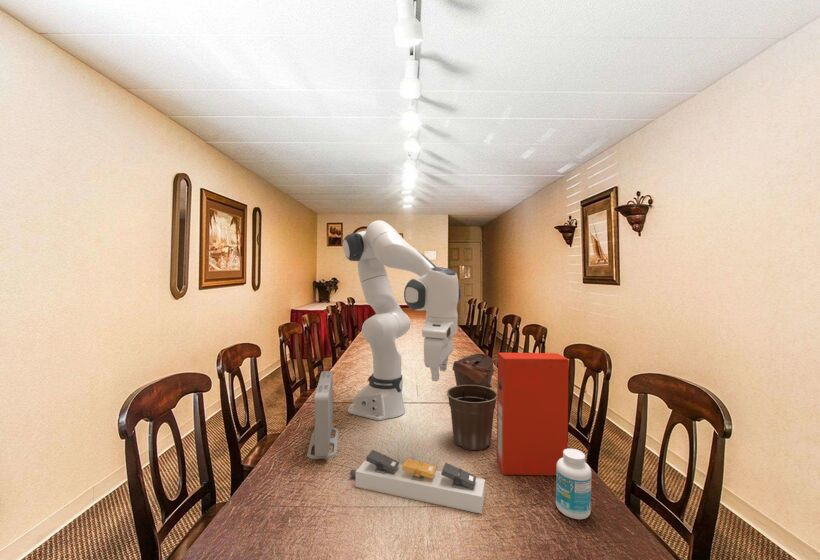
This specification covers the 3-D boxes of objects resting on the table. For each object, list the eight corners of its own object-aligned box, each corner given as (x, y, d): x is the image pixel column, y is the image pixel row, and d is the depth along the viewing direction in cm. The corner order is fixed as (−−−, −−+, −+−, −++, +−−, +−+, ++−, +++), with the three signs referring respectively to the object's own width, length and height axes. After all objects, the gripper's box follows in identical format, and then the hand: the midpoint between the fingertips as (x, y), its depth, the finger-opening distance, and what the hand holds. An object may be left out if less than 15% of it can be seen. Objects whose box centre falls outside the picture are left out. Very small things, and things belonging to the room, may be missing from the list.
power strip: (345, 484, 91) (345, 467, 91) (357, 469, 98) (357, 454, 98) (481, 513, 81) (481, 495, 81) (484, 495, 87) (485, 477, 87)
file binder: (496, 459, 104) (497, 352, 103) (555, 460, 104) (557, 352, 103) (503, 475, 96) (504, 359, 95) (567, 476, 96) (569, 359, 95)
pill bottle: (549, 500, 86) (550, 445, 85) (578, 498, 86) (580, 444, 86) (566, 522, 78) (567, 462, 78) (597, 520, 79) (599, 461, 78)
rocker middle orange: (401, 472, 88) (402, 465, 88) (406, 465, 92) (406, 457, 92) (432, 481, 86) (433, 473, 86) (435, 473, 89) (436, 465, 89)
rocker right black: (440, 477, 85) (442, 469, 85) (443, 469, 89) (445, 462, 88) (472, 492, 83) (474, 484, 83) (474, 483, 86) (476, 475, 86)
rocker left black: (365, 463, 91) (366, 456, 91) (370, 456, 95) (372, 449, 95) (392, 476, 89) (394, 469, 89) (397, 468, 93) (399, 461, 92)
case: (451, 404, 145) (452, 361, 145) (451, 388, 165) (452, 350, 165) (495, 407, 143) (497, 364, 143) (490, 391, 163) (491, 352, 163)
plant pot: (454, 456, 106) (454, 403, 105) (441, 431, 121) (441, 385, 121) (505, 452, 108) (506, 400, 108) (486, 428, 124) (486, 383, 124)
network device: (336, 463, 101) (336, 394, 101) (304, 466, 100) (304, 396, 99) (339, 424, 127) (339, 369, 126) (314, 426, 125) (314, 370, 125)
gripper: (438, 319, 108) (437, 364, 109) (420, 331, 89) (418, 385, 90) (459, 321, 106) (457, 366, 107) (444, 333, 87) (442, 388, 88)
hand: (439, 375), depth 98 cm, fingers open, 8 cm apart
